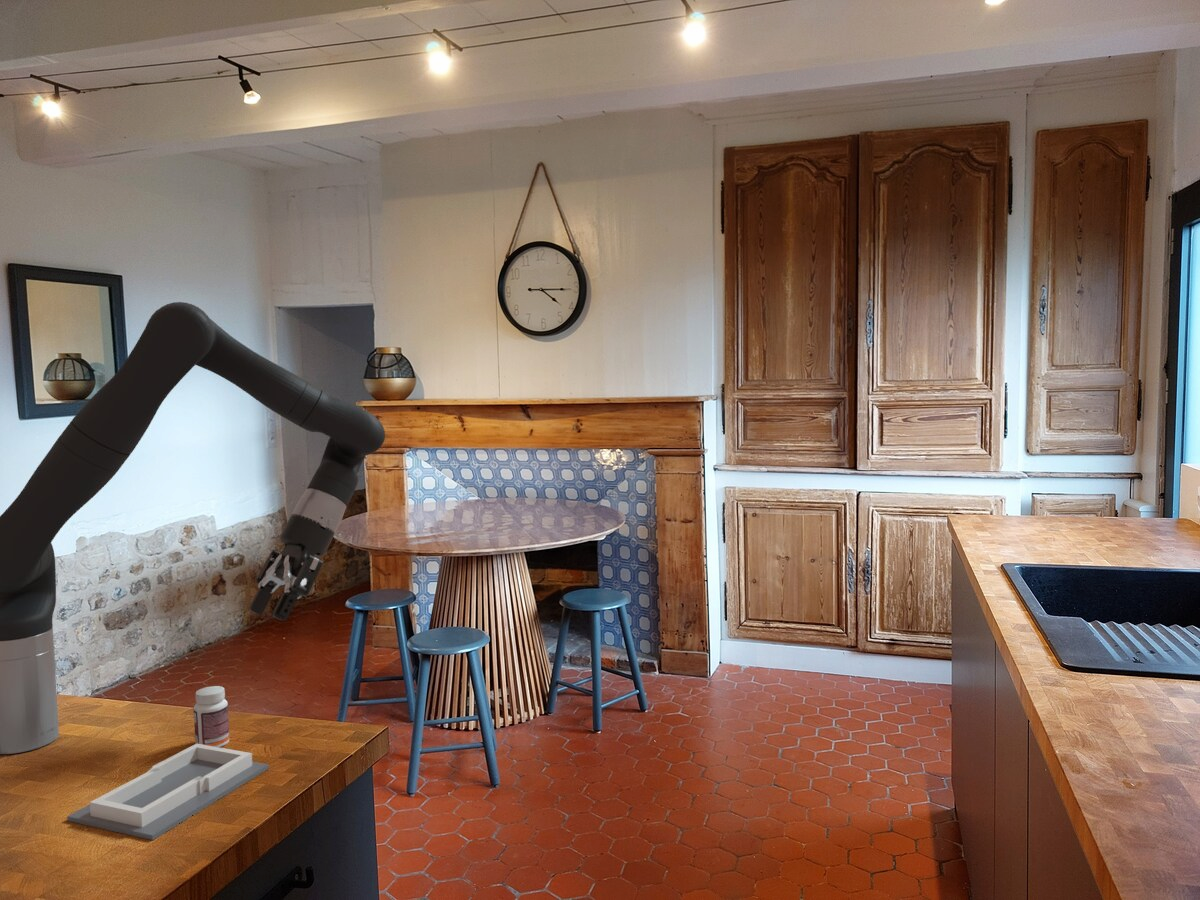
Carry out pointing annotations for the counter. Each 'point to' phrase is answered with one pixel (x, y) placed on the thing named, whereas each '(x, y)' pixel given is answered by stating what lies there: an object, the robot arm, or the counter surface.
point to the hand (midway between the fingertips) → (266, 615)
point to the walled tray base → (170, 791)
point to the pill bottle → (211, 717)
